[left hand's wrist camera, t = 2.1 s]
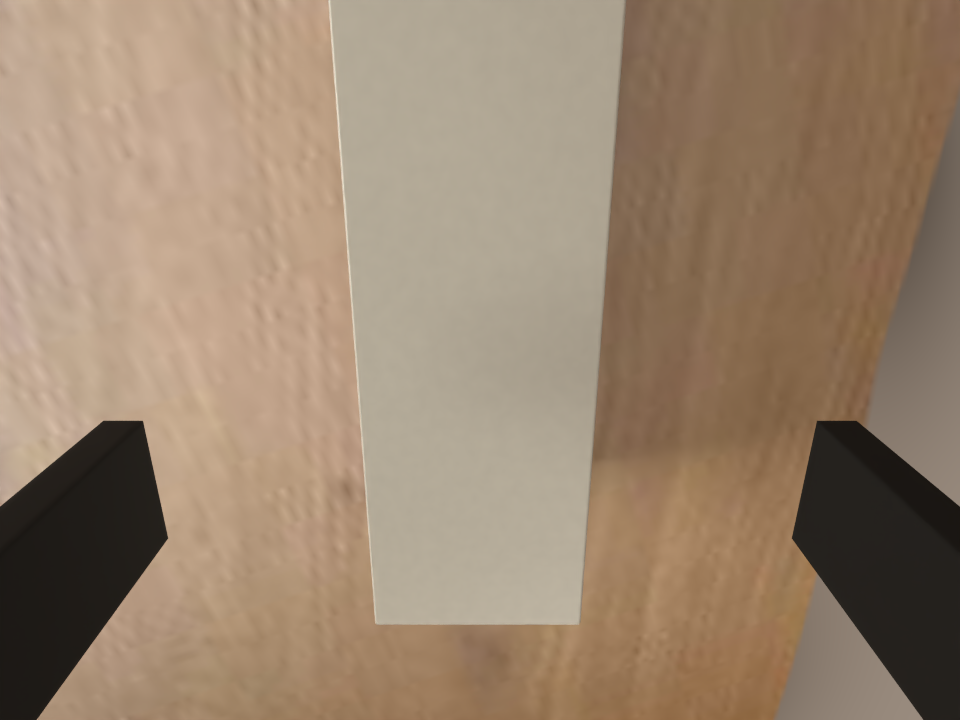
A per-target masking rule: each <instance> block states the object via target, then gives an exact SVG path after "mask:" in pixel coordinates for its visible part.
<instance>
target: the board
mask: <svg viewBox="0 0 960 720" xmlns="http://www.w3.org/2000/svg"><path fill="white" fill-rule="evenodd" d="M328 3H329V16H330V30H331V43H332V56H333V69H334V82H335V96H336V109H337V122H338V135H339V149H340V162H341V175H342V188H343V202H344V215H345V228H346V241H347V254H348V268H349V281H350V294H351V307H352V321H353V334H354V347H355V360H356V374H357V387H358V400H359V413H360V426H361V440H362V453H363V466H364V479H365V493H366V506H367V519H368V532H369V546H370V559H371V572H372V585H373V599H374V612H375V623H376V624H377V625H579V624H580V620H581V606H582V593H583V579H584V566H585V552H586V539H587V525H588V512H589V498H590V485H591V471H592V458H593V444H594V431H595V417H596V404H597V390H598V377H599V363H600V350H601V336H602V322H603V309H604V295H605V282H606V268H607V255H608V241H609V228H610V214H611V201H612V187H613V174H614V160H615V147H616V133H617V120H618V106H619V93H620V79H621V66H622V52H623V39H624V25H625V11H626V0H328Z"/></svg>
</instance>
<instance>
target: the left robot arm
mask: <svg viewBox="0 0 960 720" xmlns="http://www.w3.org/2000/svg"><path fill="white" fill-rule="evenodd" d="M167 539H168V536H167V531H166V526H165V522H164V517H163V512H162V508H161V503H160V498H159V494H158V489H157V484H156V480H155V475H154V470H153V466H152V461H151V456H150V452H149V447H148V443H147V438H146V433H145V429H144V424H143V421H103V422H102V423H100V424H99V425H98V426H97V427H96V428H94V429H93V430H92V431H91V432H90V433H88V434H87V435H86V436H85V437H84V438H82V439H81V440H80V441H79V442H78V443H76V444H75V445H74V446H73V447H72V448H70V449H69V450H68V451H67V452H65V453H64V454H63V455H62V456H61V457H59V458H58V459H57V460H56V461H55V462H53V463H52V464H51V465H50V466H49V467H47V468H46V469H45V470H44V471H43V472H41V473H40V474H39V475H38V476H37V477H35V478H34V479H33V480H32V481H31V482H29V483H28V484H27V485H26V486H25V487H23V488H22V489H21V490H20V491H19V492H17V493H16V494H15V495H14V496H13V497H11V498H10V499H9V500H8V501H7V502H5V503H4V504H3V505H2V506H0V720H37V718H38V717H39V716H40V714H41V713H42V711H43V710H44V709H45V707H46V706H47V705H48V703H49V702H50V700H51V699H52V698H53V696H54V695H55V694H56V692H57V691H58V689H59V688H60V687H61V685H62V684H63V683H64V681H65V680H66V678H67V677H68V676H69V674H70V673H71V671H72V670H73V669H74V667H75V666H76V665H77V663H78V662H79V660H80V659H81V658H82V656H83V655H84V654H85V652H86V651H87V649H88V648H89V647H90V645H91V644H92V643H93V641H94V640H95V638H96V637H97V636H98V634H99V633H100V632H101V630H102V629H103V627H104V626H105V625H106V623H107V622H108V620H109V619H110V618H111V616H112V615H113V614H114V612H115V611H116V609H117V608H118V607H119V605H120V604H121V603H122V601H123V600H124V598H125V597H126V596H127V594H128V593H129V592H130V590H131V589H132V587H133V586H134V585H135V583H136V582H137V580H138V579H139V578H140V576H141V575H142V574H143V572H144V571H145V569H146V568H147V567H148V565H149V564H150V563H151V561H152V560H153V558H154V557H155V556H156V554H157V553H158V552H159V550H160V549H161V547H162V546H163V545H164V543H165V542H166V540H167ZM792 539H793V540H794V542H795V543H796V545H797V546H798V547H799V549H800V550H801V552H802V553H803V554H804V556H805V557H806V558H807V560H808V561H809V563H810V564H811V565H812V567H813V568H814V569H815V571H816V572H817V574H818V575H819V576H820V578H821V579H822V580H823V582H824V583H825V585H826V586H827V587H828V589H829V590H830V592H831V593H832V594H833V596H834V597H835V598H836V600H837V601H838V603H839V604H840V605H841V607H842V608H843V609H844V611H845V612H846V614H847V615H848V616H849V618H850V619H851V620H852V622H853V623H854V625H855V626H856V627H857V629H858V630H859V632H860V633H861V634H862V636H863V637H864V638H865V640H866V641H867V643H868V644H869V645H870V647H871V648H872V649H873V651H874V652H875V654H876V655H877V656H878V658H879V659H880V660H881V662H882V663H883V665H884V666H885V667H886V669H887V670H888V671H889V673H890V674H891V676H892V677H893V678H894V680H895V681H896V683H897V684H898V685H899V687H900V688H901V689H902V691H903V692H904V694H905V695H906V696H907V698H908V699H909V700H910V702H911V703H912V704H913V706H914V707H915V709H916V710H917V711H918V713H919V714H920V716H921V717H922V718H923V720H960V507H959V506H958V505H957V504H956V503H955V502H953V501H952V500H951V499H950V498H949V497H947V496H946V495H945V494H944V493H943V492H941V491H940V490H939V489H938V488H937V487H935V486H934V485H933V484H932V483H930V482H929V481H928V480H927V479H926V478H925V477H923V476H922V475H921V474H920V473H919V472H917V471H916V470H915V469H914V468H913V467H911V466H910V465H909V464H908V463H907V462H905V461H904V460H903V459H902V458H901V457H899V456H898V455H897V454H896V453H894V452H893V451H892V450H891V449H890V448H888V447H887V446H886V445H885V444H884V443H882V442H881V441H880V440H879V439H878V438H876V437H875V436H874V435H873V434H872V433H870V432H869V431H868V430H867V429H866V428H864V427H863V426H862V425H861V424H860V423H858V422H857V421H817V424H816V429H815V433H814V438H813V443H812V447H811V452H810V456H809V461H808V466H807V470H806V475H805V480H804V484H803V489H802V494H801V498H800V503H799V508H798V512H797V517H796V522H795V526H794V531H793V536H792Z"/></svg>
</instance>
